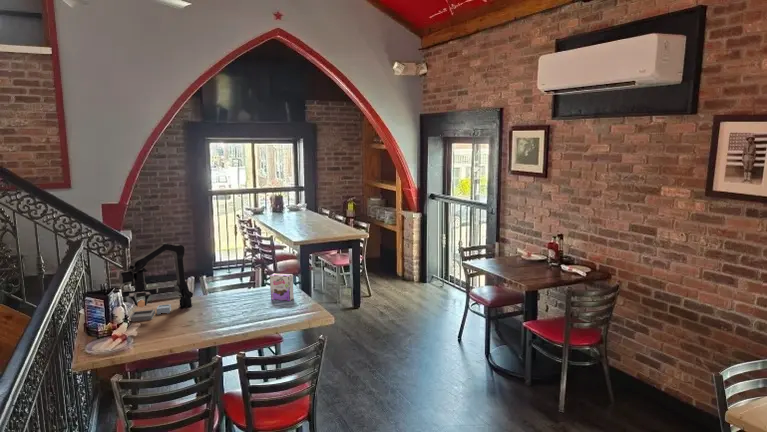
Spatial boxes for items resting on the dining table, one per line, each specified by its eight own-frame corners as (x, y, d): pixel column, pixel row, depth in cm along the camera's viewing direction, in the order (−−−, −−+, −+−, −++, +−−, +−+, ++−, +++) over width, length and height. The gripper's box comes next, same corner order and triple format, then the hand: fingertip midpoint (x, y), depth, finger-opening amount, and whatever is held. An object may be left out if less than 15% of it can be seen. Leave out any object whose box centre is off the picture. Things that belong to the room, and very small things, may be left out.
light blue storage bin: (171, 309, 325) (170, 304, 324) (169, 313, 318) (169, 307, 318) (158, 310, 323) (158, 305, 323) (156, 314, 316) (156, 308, 316)
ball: (146, 305, 313) (145, 298, 312) (145, 308, 309) (144, 300, 308) (138, 306, 312) (137, 299, 311) (137, 308, 308) (136, 301, 307)
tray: (155, 313, 318) (154, 309, 318) (151, 319, 307) (151, 315, 307) (133, 315, 315) (133, 311, 315) (129, 321, 304) (129, 317, 304)
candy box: (270, 300, 339) (269, 275, 337) (275, 297, 345) (273, 272, 343) (290, 301, 335) (288, 276, 333) (294, 298, 341) (292, 273, 339)
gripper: (158, 275, 318) (160, 300, 320) (124, 278, 314) (127, 303, 316) (155, 280, 308) (157, 305, 310) (120, 283, 303) (123, 309, 305)
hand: (141, 306), depth 310 cm, fingers closed on ball, 4 cm apart
